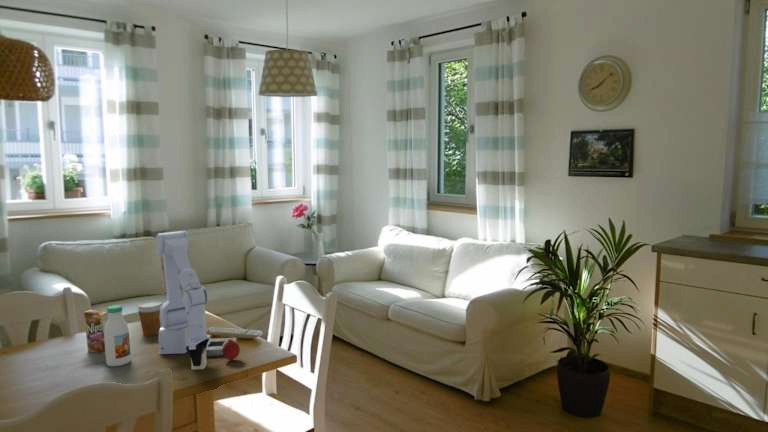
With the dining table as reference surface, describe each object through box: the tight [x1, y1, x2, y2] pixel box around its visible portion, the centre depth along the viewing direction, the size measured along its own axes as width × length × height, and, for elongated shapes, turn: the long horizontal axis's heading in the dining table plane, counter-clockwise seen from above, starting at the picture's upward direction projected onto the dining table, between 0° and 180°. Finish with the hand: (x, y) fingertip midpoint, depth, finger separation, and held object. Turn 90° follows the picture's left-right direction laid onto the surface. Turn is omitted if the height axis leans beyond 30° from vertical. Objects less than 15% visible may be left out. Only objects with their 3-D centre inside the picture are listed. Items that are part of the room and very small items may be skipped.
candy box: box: [83, 308, 108, 355], centre depth 203 cm, size 9×4×15 cm, turn 69°
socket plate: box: [206, 337, 237, 358], centre depth 203 cm, size 12×12×2 cm
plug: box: [190, 348, 208, 370], centre depth 188 cm, size 4×4×6 cm
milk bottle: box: [104, 304, 132, 367], centre depth 192 cm, size 8×8×20 cm
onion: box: [222, 337, 241, 362], centre depth 193 cm, size 6×6×8 cm
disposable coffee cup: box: [136, 300, 163, 337], centre depth 223 cm, size 10×10×12 cm
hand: (199, 362), depth 188 cm, fingers open, 5 cm apart
